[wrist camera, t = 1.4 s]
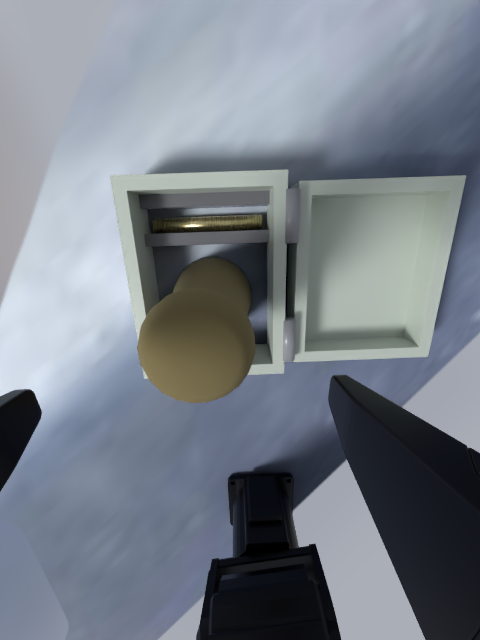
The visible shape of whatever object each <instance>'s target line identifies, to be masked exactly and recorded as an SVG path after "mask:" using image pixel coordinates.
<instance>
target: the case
mask: <svg viewBox="0 0 480 640" xmlns="http://www.w3.org/2000/svg"><path fill="white" fill-rule="evenodd" d="M110 179H111V185H112V191H113V197H114V203H115V209H116V215H117V221H118V227H119V233H120V238H121V244H122V250H123V256H124V262H125V268H126V274H127V280H128V286H129V292H130V297H131V303H132V309H133V315H134V321H135V327H136V333H137V339H138V340H139V334H140V328H141V325H142V323H143V321H144V320H145V318H146V316H147V314H148V313H149V311H150V310H151V309H152V308H153V307H154V306H155V305H156V304H158V303H159V302H160V300H159V293H158V285H157V278H156V270H155V263H154V255H153V248H152V246H178V245H205V244H233V243H261V242H267V344H255V356H254V359H253V362H252V365H251V368H250V371H249V373H248V375H256V374H280V373H284V362H292V361H294V360H295V337H296V318H293V317H285V299H286V252H287V243H299V225H300V197H301V189H299V188H292V189H288V169H287V170H257V171H228V172H198V173H168V174H138V175H110ZM245 206H267V230H244V231H216V232H188V233H160V234H151V233H150V226H149V218H148V211H147V210H159V209H188V208H217V207H245ZM143 374H144V379H148V377H147V375H146V373H145V371H144V370H143Z"/></svg>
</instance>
